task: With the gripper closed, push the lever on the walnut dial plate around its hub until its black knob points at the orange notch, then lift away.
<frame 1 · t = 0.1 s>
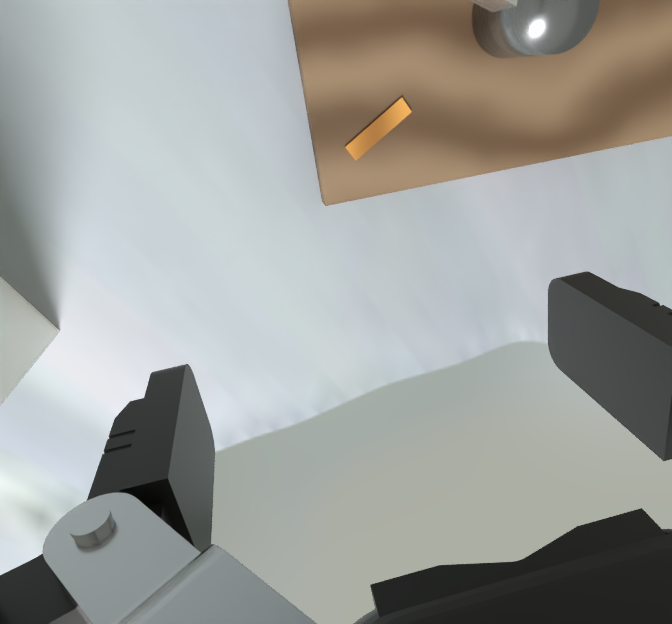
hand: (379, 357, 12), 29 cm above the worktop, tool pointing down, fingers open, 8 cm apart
dial plate: (495, 19, 37), on the worktop
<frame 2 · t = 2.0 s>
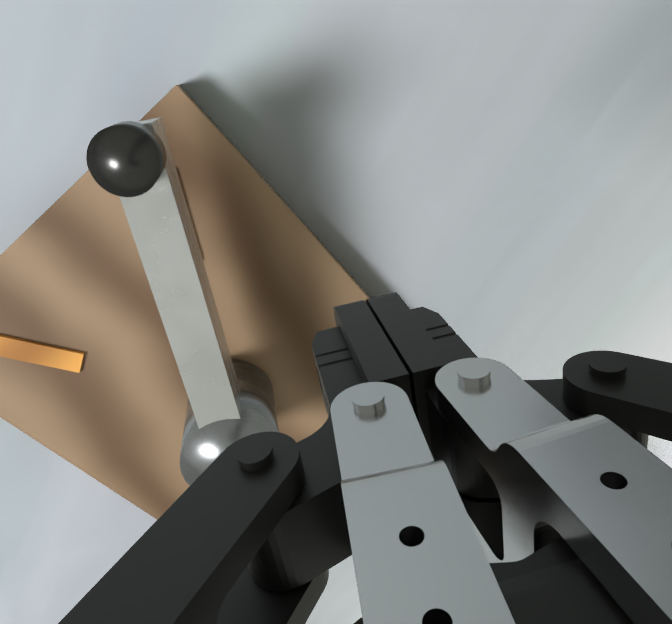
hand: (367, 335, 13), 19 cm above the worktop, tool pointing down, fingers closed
lever: (196, 322, 25), point 6 cm above the worktop, hinge at 0.0°
dial plate: (231, 380, 34), on the worktop
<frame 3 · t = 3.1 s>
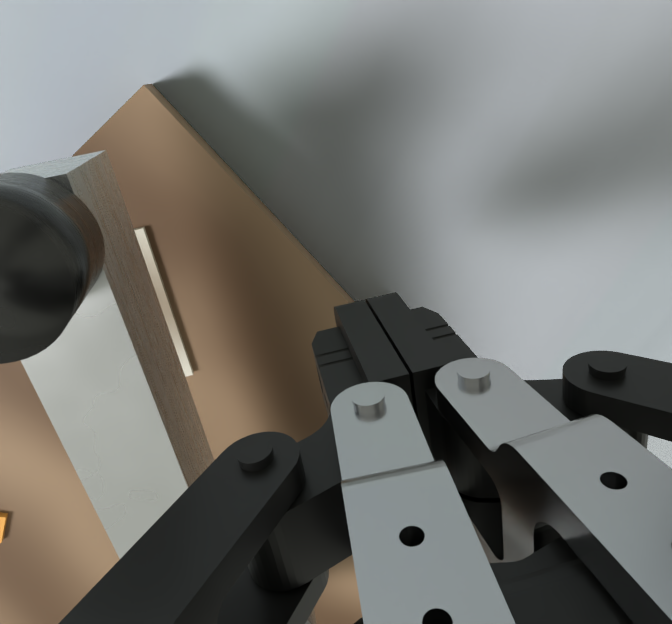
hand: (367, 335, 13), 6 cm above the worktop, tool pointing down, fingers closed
lever: (181, 508, 14), point 6 cm above the worktop, hinge at 0.0°
dial plate: (241, 525, 23), on the worktop
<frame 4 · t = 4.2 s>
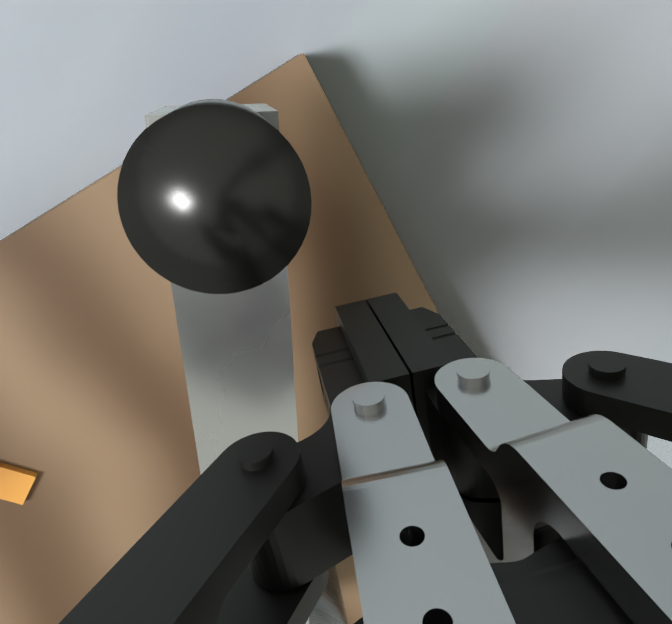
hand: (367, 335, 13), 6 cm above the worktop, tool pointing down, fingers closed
lever: (255, 489, 14), point 6 cm above the worktop, hinge at 2.1°, touching gripper
dial plate: (262, 522, 22), on the worktop
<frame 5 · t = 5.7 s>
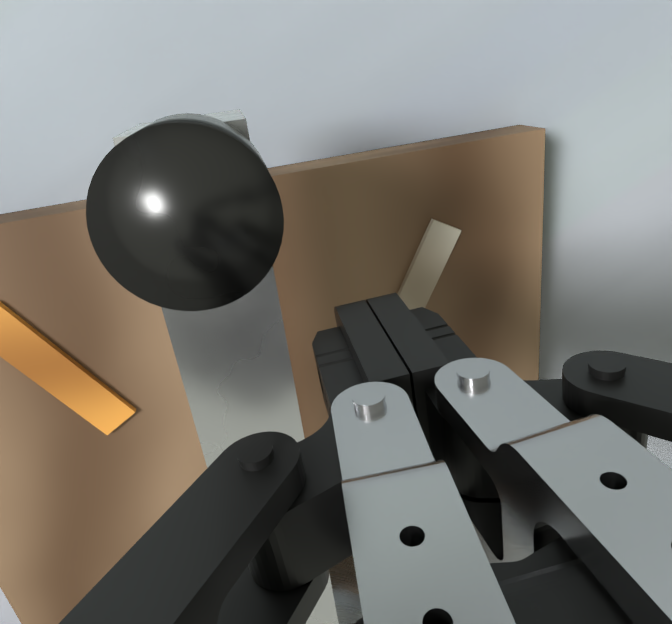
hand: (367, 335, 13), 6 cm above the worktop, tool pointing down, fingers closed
lever: (272, 493, 14), point 6 cm above the worktop, hinge at 29.3°, touching gripper
dial plate: (289, 522, 22), on the worktop
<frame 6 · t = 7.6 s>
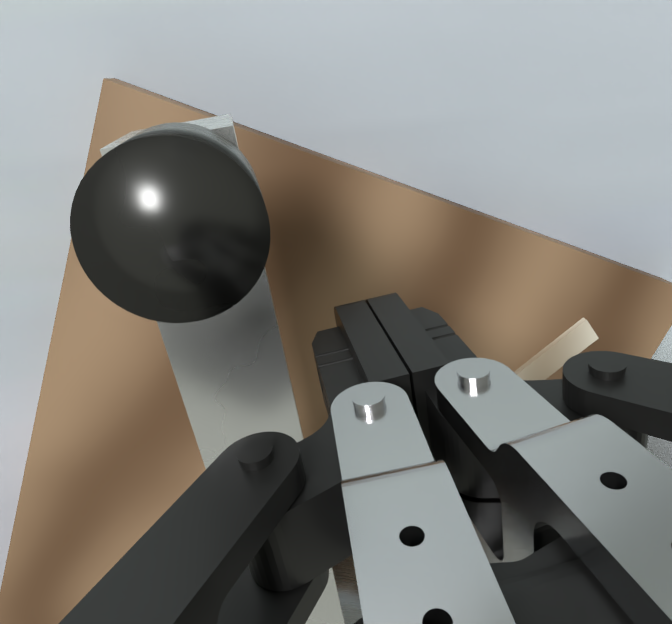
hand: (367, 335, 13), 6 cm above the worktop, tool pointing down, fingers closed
lever: (276, 496, 14), point 6 cm above the worktop, hinge at 59.4°
dial plate: (297, 521, 22), on the worktop
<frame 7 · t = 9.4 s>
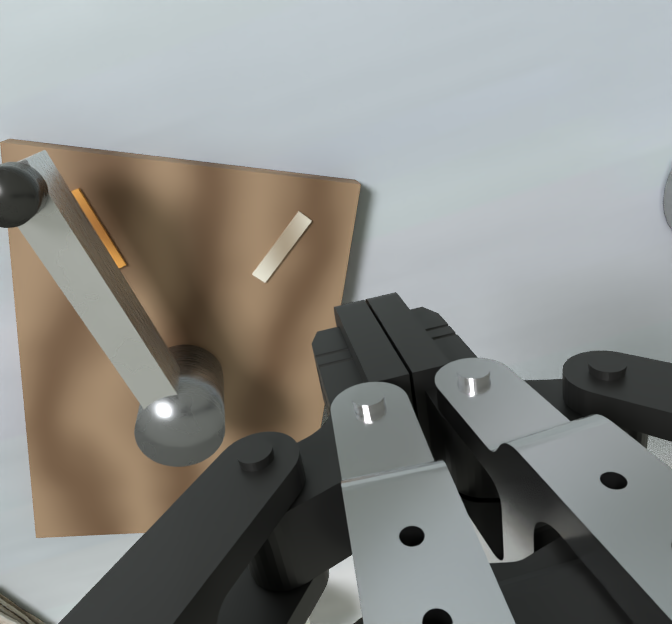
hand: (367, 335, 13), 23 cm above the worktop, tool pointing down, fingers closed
lever: (122, 319, 29), point 6 cm above the worktop, hinge at 59.4°
dial plate: (186, 364, 37), on the worktop
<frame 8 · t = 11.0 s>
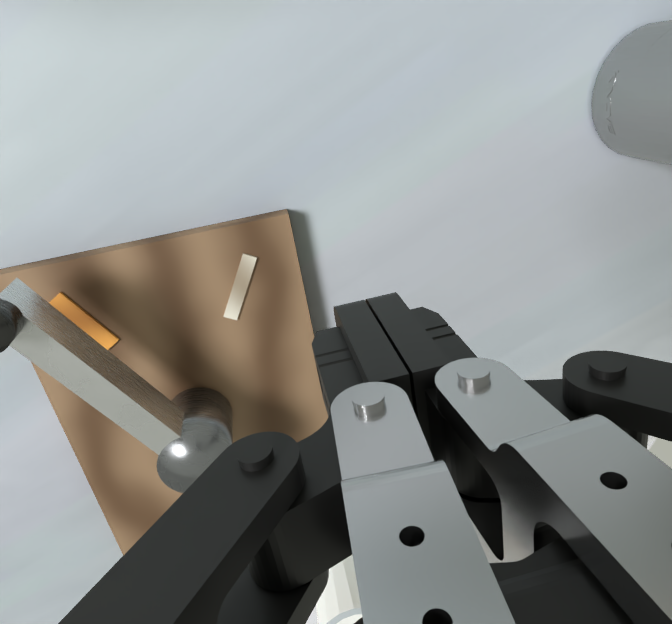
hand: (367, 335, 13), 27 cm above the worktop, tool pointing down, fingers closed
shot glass: (341, 568, 54), on the worktop
lever: (121, 388, 35), point 6 cm above the worktop, hinge at 59.4°
dial plate: (201, 402, 43), on the worktop
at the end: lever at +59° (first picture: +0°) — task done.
